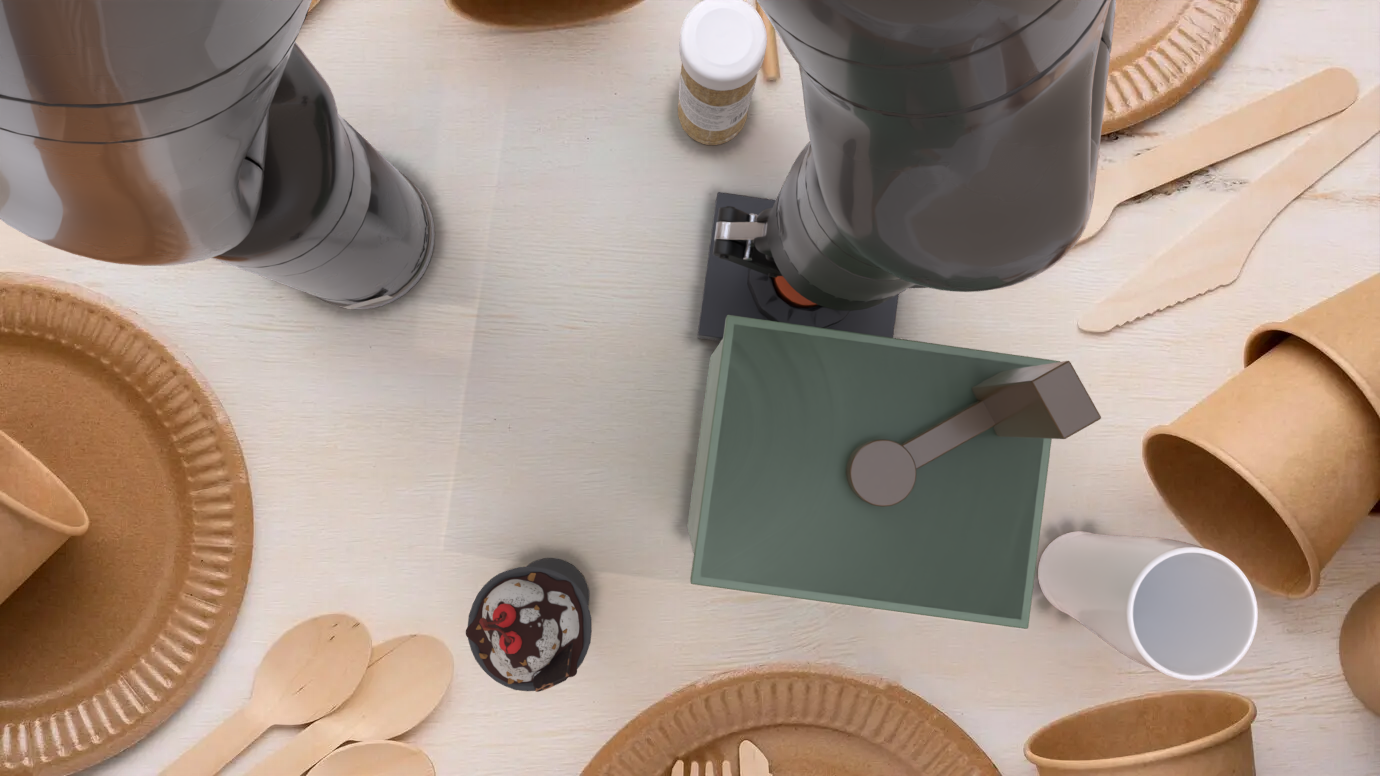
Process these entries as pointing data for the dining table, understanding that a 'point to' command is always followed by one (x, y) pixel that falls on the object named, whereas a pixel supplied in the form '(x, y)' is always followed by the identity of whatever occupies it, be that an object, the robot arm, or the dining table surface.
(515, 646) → the sundae
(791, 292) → the button
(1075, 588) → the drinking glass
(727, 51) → the sprinkles bottle
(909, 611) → the block
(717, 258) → the control box
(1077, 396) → the lever
